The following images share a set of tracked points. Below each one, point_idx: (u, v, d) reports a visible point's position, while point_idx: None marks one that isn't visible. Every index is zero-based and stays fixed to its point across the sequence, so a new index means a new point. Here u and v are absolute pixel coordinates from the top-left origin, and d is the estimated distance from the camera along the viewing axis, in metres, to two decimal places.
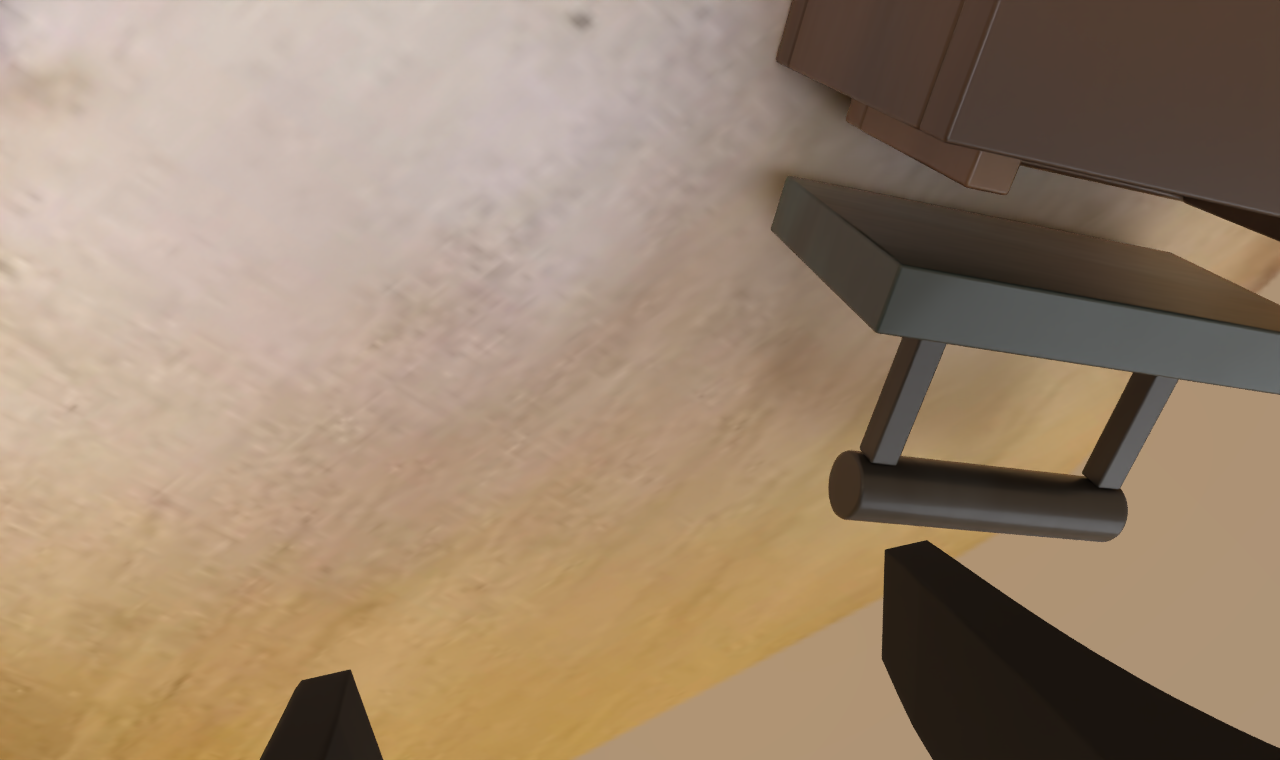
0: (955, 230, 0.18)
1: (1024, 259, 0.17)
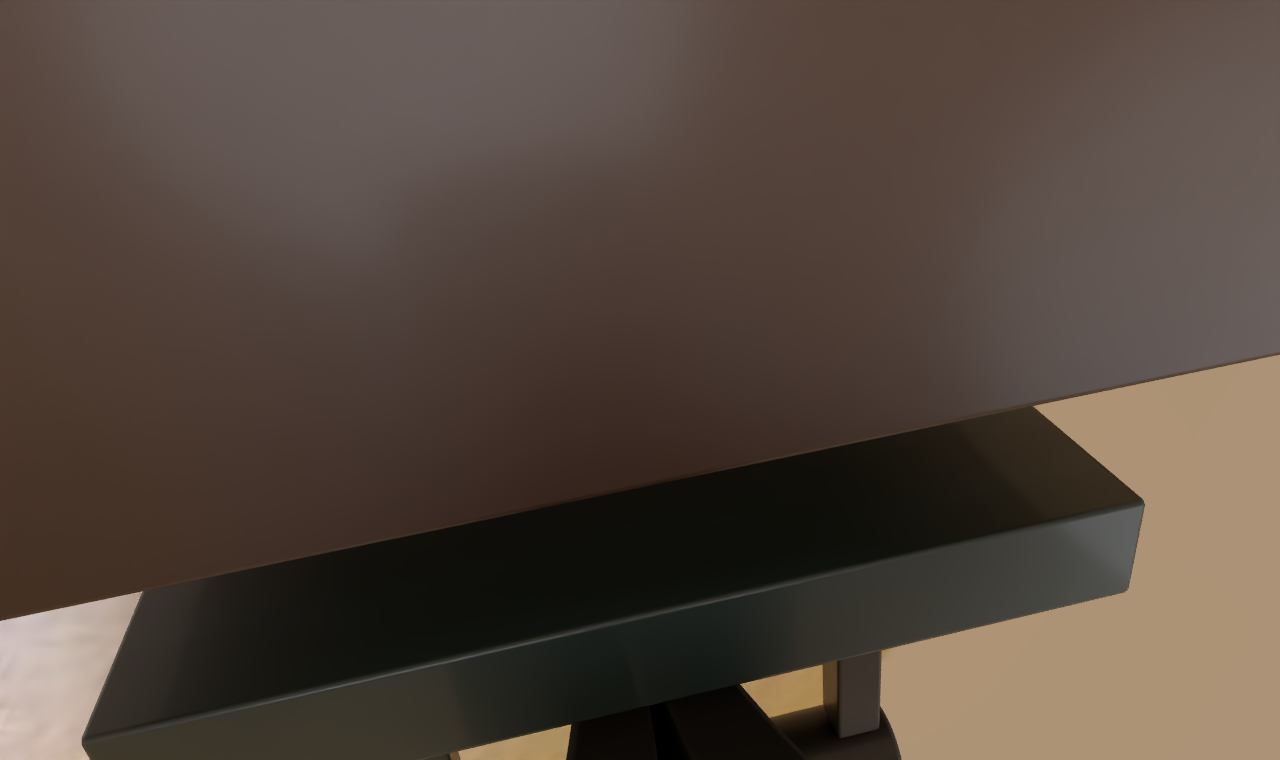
0: None
1: (481, 526, 0.10)
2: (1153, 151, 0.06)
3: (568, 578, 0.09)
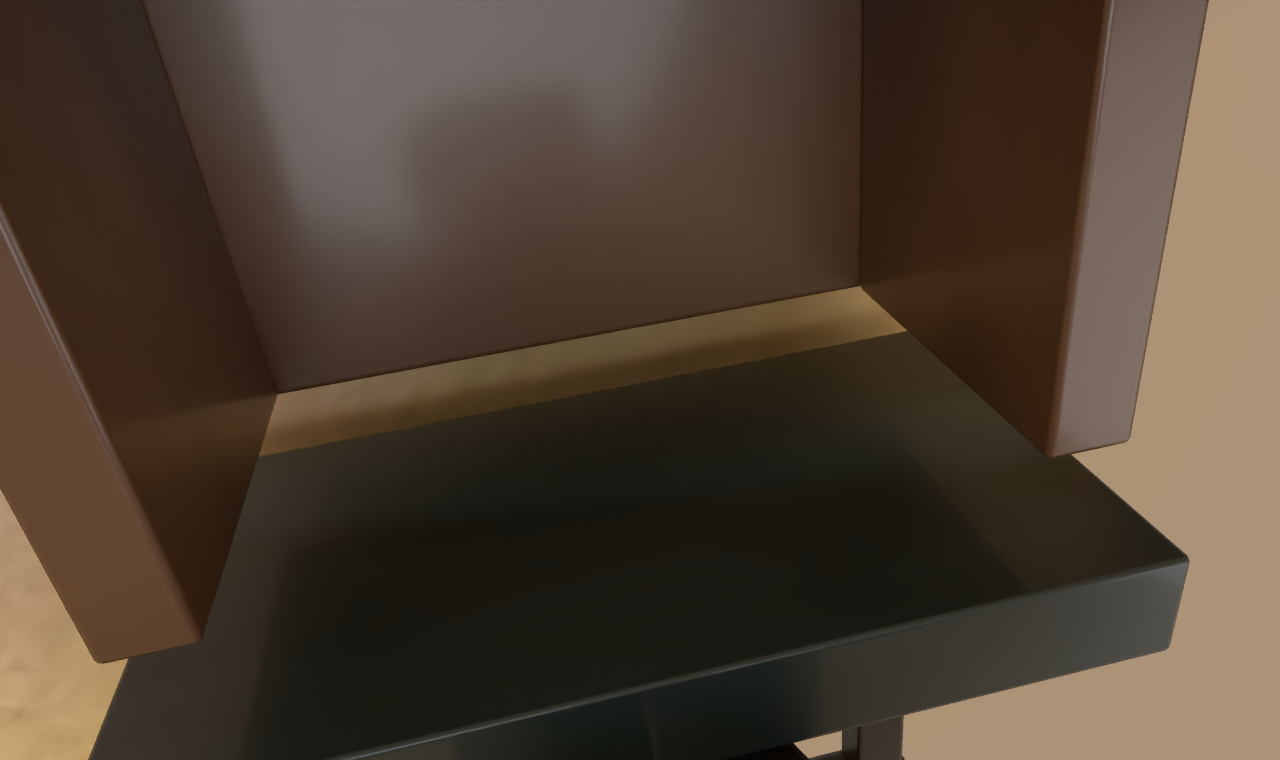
0: (417, 520, 0.10)
1: (488, 579, 0.09)
2: None
3: (581, 640, 0.08)
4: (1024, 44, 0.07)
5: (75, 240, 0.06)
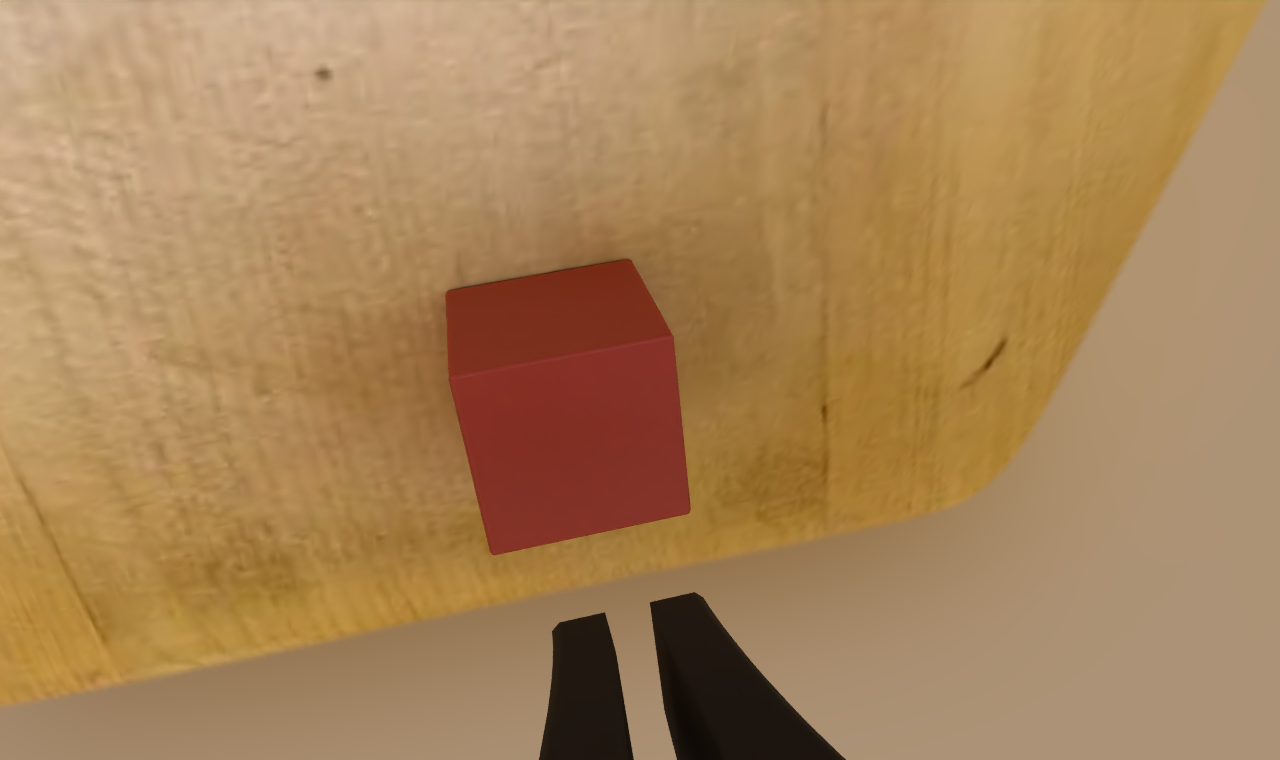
0: None
1: None
2: None
3: None
4: None
5: None
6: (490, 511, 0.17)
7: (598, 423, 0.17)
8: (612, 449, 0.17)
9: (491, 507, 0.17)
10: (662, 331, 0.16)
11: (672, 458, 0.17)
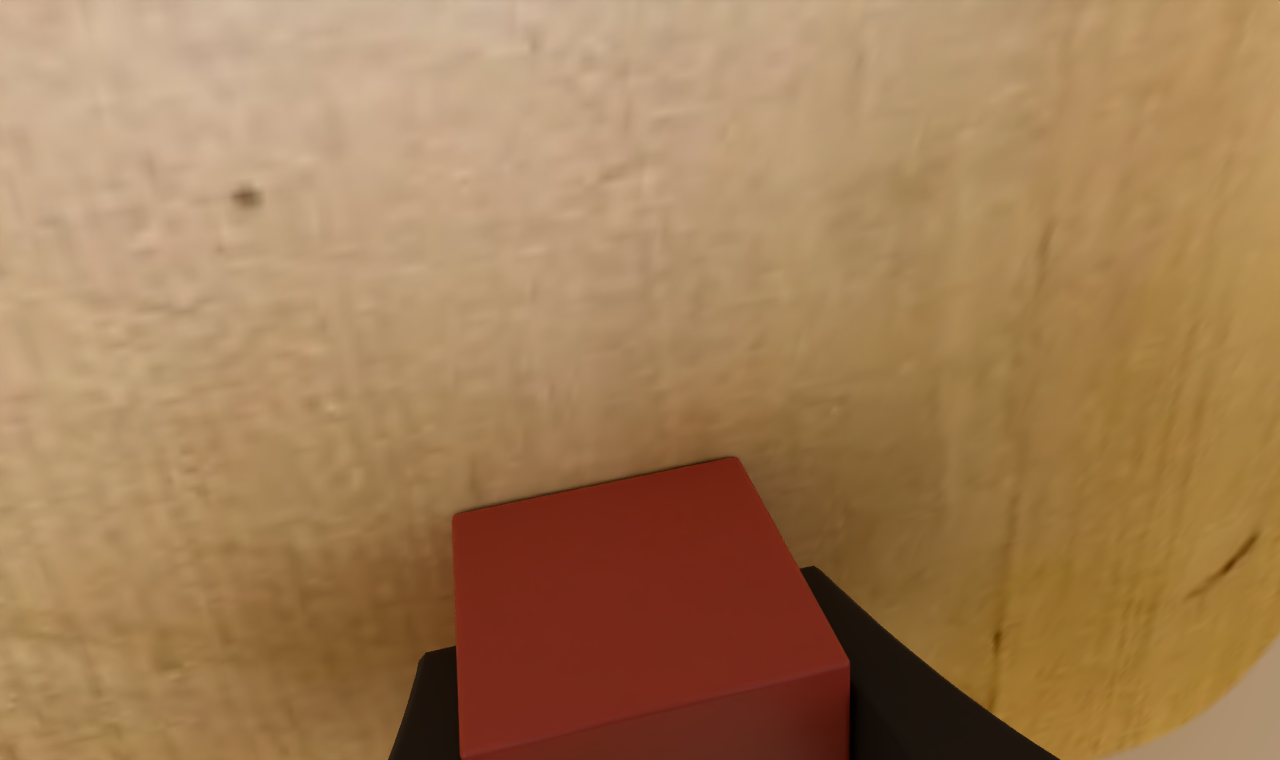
0: None
1: None
2: None
3: None
4: None
5: None
6: None
7: None
8: None
9: None
10: (830, 651, 0.09)
11: None
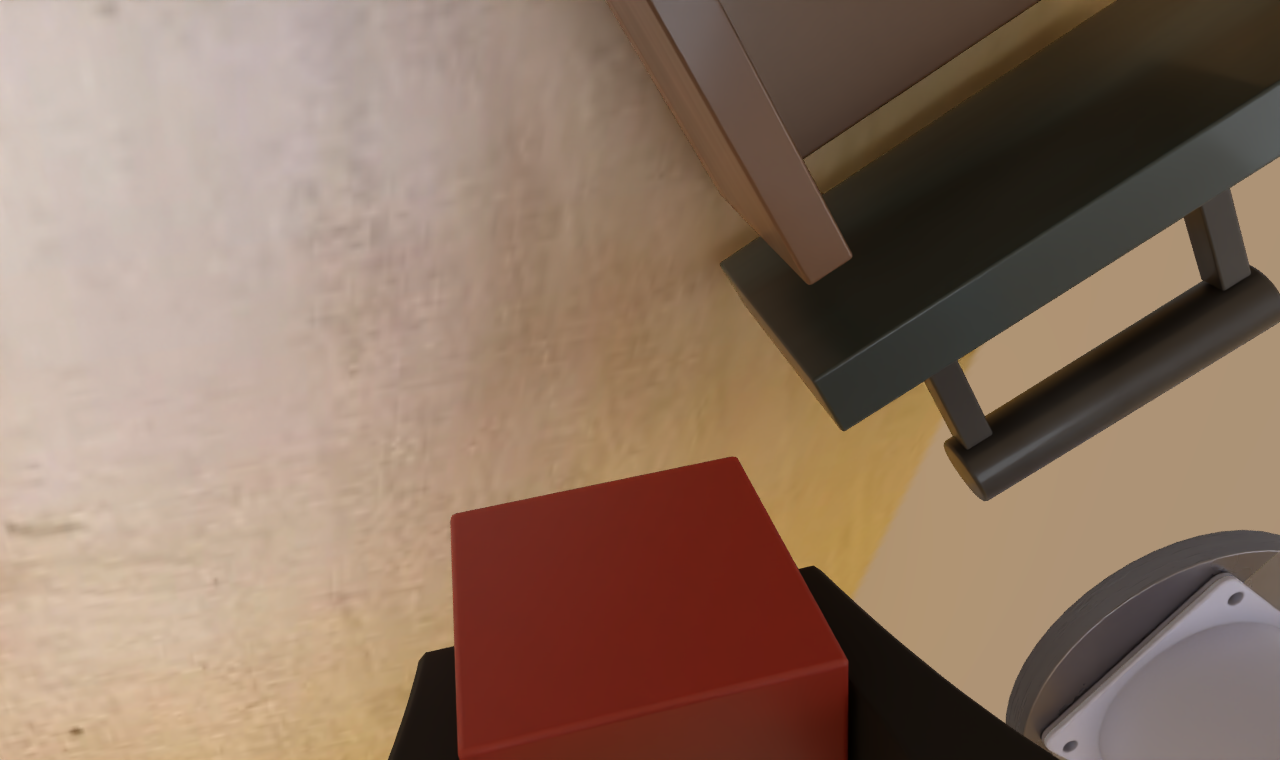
0: (880, 218, 0.17)
1: (951, 216, 0.15)
2: None
3: (1030, 209, 0.14)
4: None
5: None
6: None
7: None
8: None
9: None
10: (828, 650, 0.09)
11: None
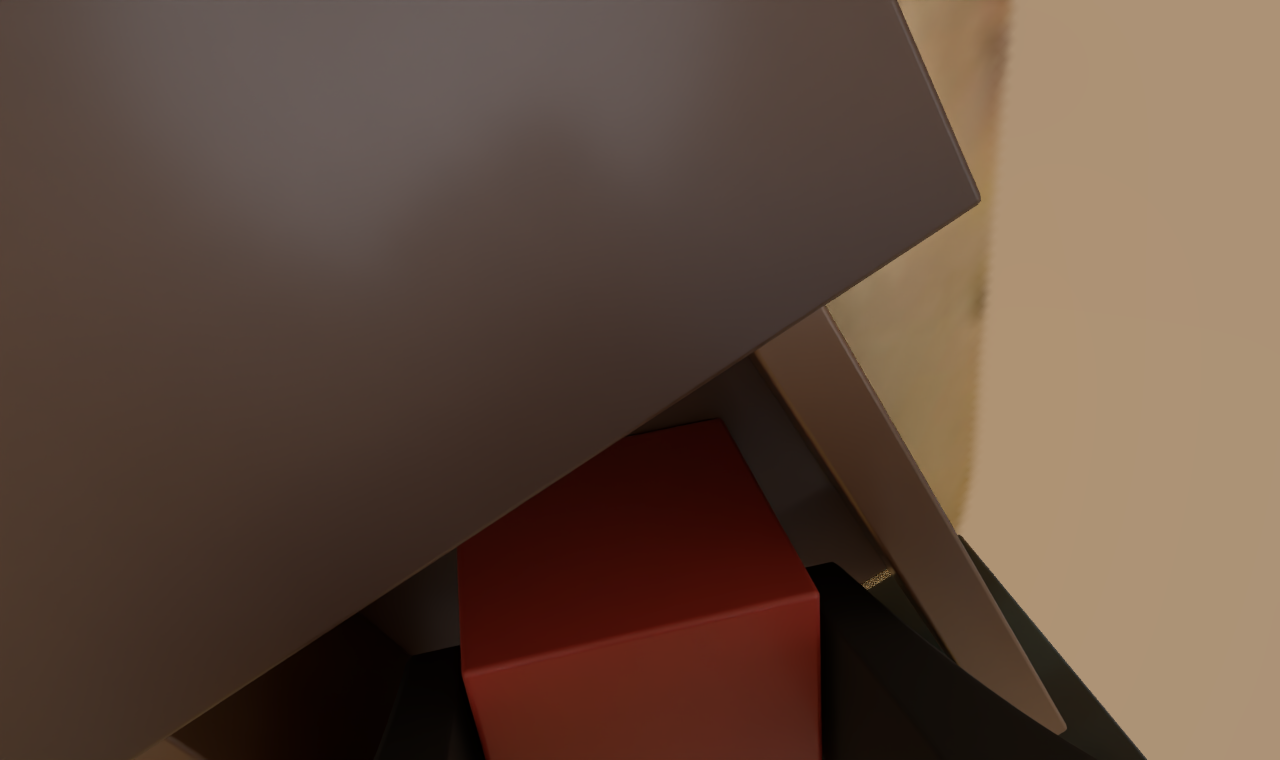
0: None
1: None
2: (652, 146, 0.06)
3: None
4: (891, 569, 0.11)
5: None
6: None
7: (696, 720, 0.11)
8: (714, 751, 0.11)
9: None
10: (801, 584, 0.10)
11: (803, 756, 0.11)
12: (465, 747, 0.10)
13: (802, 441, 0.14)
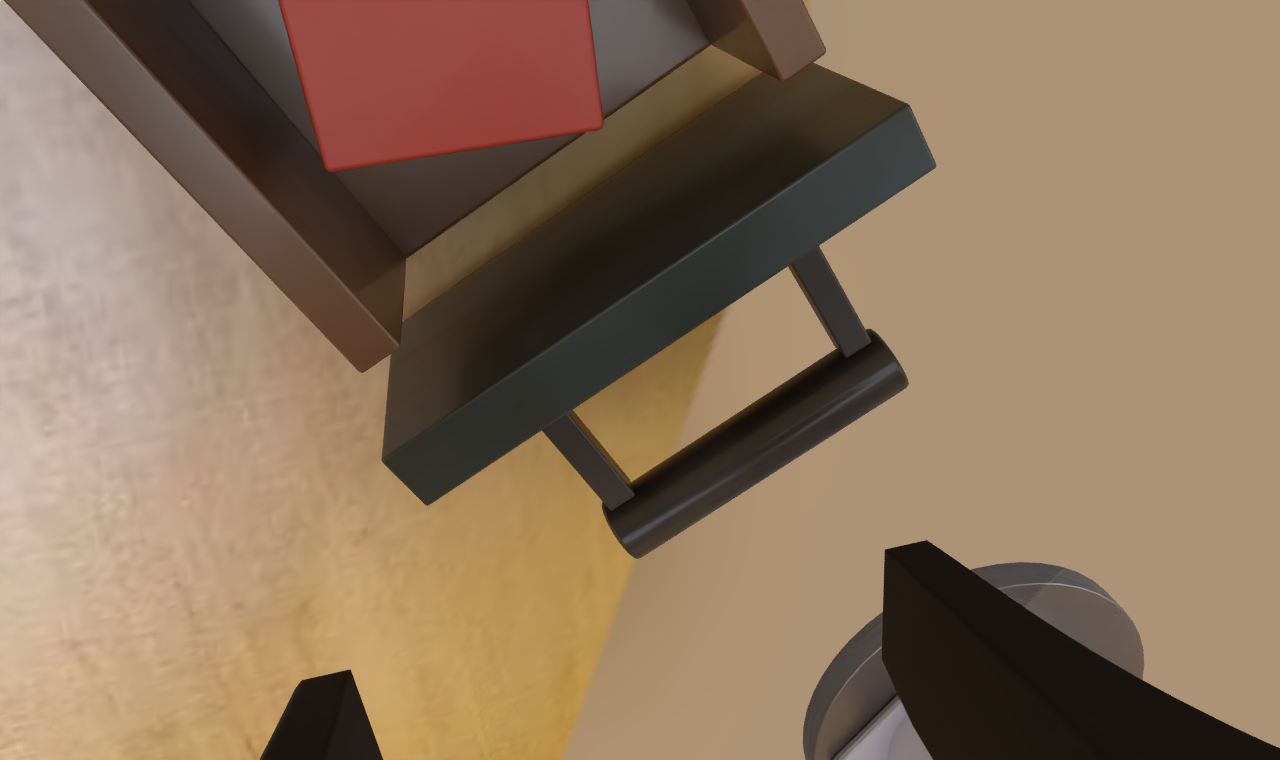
0: (506, 292, 0.17)
1: (545, 296, 0.16)
2: None
3: (592, 295, 0.15)
4: None
5: (268, 177, 0.13)
6: (317, 95, 0.12)
7: None
8: (486, 5, 0.12)
9: (318, 86, 0.12)
10: None
11: (573, 30, 0.13)
12: None
13: None
